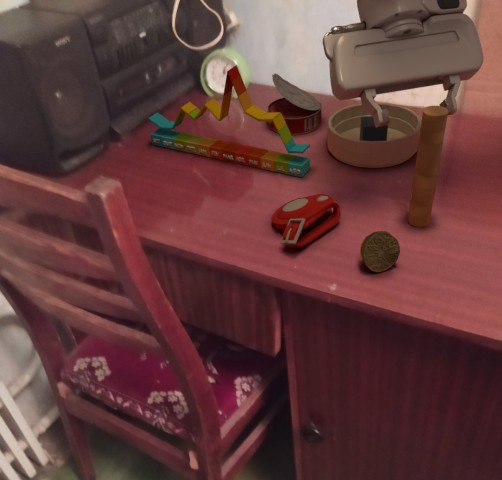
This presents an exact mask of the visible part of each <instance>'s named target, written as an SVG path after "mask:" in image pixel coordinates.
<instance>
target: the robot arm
mask: <svg viewBox="0 0 502 480" xmlns="http://www.w3.org/2000/svg"><path fill="white" fill-rule="evenodd" d="M467 6H468V1H467V0H356V7H357V11H358V12H357V13H358V16H359V22H355V23H354V22H353V23H350V24H347V25H336V26H333V27H331V28H330V30H329V31H327V32H326V33H325V34H324V36H323V37H322V45H323V46H322V47H323V51H324V55H325V57H326V59H327V60H328V63H329V64H328V65H329V81H330V88H331V93H332V95H333V96H334V97H335V98H336V99H337V100H338V101H347V100H352V99H353V100H354V99H360V104H361V103H362V106H363V107H364V108H365V109H366V110H367V111H368V112H369V113H370V114H371V115H372V116H373V119H374V124H375V127H376V128H377V127H382V126H387V124H389V122H390V118H389V116H388V109H381V107H380V106H379V105H378V104H377V103H378V102H377V101H376V99H375V98H376V97H377V96H378V95H382V94H383V95H384V94H391V93H395V92H401V91H402V92H403V91H408V90H415V89H420V88H426V87H432V86H439V85H442V88H443V91H444V92H447V94H446V97H445V98H444V99H443V100H442V101H441V102H440V103H439V105H438V106H442V107H445V108H447V109H448V116H452V115H454V114H455V113H456V112H457V111H458V104H457V99H456V98H457V96H458V92H459V89H460V87H461V84H462V83H461V82H463V81H468V80H470V79H472V78H473V77H474V76H475V75H477V73H478V72H479V71H480V70H481V68H482V66H483V64H484V53H483V52H484V51H483V47H482V44H481V40H480V37H479V34H478V30H477V28H476V25H475V23H474V21H473V19H472V18H471V17H470V16H469V15H468V14H466V13H464V12H465V10H466V9H467Z"/></svg>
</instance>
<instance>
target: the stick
mask: <svg viewBox="0 0 502 480" xmlns="http://www.w3.org/2000/svg"><path fill="white" fill-rule="evenodd" d="M448 116H449V115H448V109H447V108H445V107H442V106H440V105H428V106H426V107H424V108H423V109H422V114H421V129H420V136H419V143H418V150H417V152H416V159H415V165H414V166H415V168H414V173H413V181H412V188H411V196H410V201H409V208H408V209H409V210H408V217H407V222H408V223H409V225H411V226H413V227H418V228H424V227H426V226H428V225H429V224H430V222H431V216H432V212H433V211H432V210H433V205H434V199H435V192H436V187H437V181H438V176H439V168H440V163H441V157H442V152H443V145H444V140H445V133H446V128H447V120H448Z"/></svg>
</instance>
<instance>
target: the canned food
mask: <svg viewBox="0 0 502 480" xmlns="http://www.w3.org/2000/svg"><path fill="white" fill-rule="evenodd" d="M271 77H272V83H273V85H274V87H275V88H276V90H277V91H278V93H279V94H280V95H281V96H282V97H280V98H277V99H276V100H274V101H272V102H271V103H269V105H268V106H267V113H272V112H281V114H282V116H283V118H284V120H285V122H286V125H287V127H288V129H289V131H290V133H291V135H292V136H293V135H294V136H296V135H303V134H308V133H311V132H314V131H316V130H317V129H319V127H321V125H322V107H323V105H322V103H321V102H320V101H319V100H318V99H317V98H316V97H315V96H314V95H312V94H310V93H309V92H307V91H305V90H304V89H301V88H300V87H299V86H297V85H294V84H293V83H291V82H289V81H288V80H286V79H284V78H283V77H282V76H281V75H279V74H278V73H273V74H271ZM267 124H268V127H269V130H272V131H273V132H274V133H277V134H279V133H278V131H277V129H276V127H275V125H274V123H273V121H267Z"/></svg>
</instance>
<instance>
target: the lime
mask: <svg viewBox="0 0 502 480" xmlns="http://www.w3.org/2000/svg"><path fill="white" fill-rule="evenodd" d="M359 251H360V256H361V259H362V262H363V264H364V265H365V266H366V268H367V269H369V270H370V271H371V272H373V273H374V272H375V273H381V272H385V271H387V270H388V269H390V268H391V267H393V265H395V263H396V262H397V261H398V260H399V257H400V253H401V247H400V243H399V240H398V239H397V238H396V237H395V236H394V235H392V234H391V233H390V232H389V231H385V230H378V231H373V232H371V233H370V234H368V235H367V236H365V238H364V239H363V241H362V243H361V246H360V250H359Z"/></svg>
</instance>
